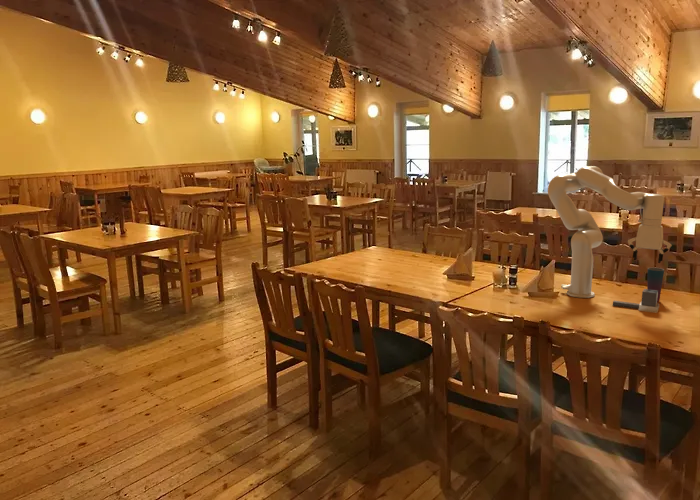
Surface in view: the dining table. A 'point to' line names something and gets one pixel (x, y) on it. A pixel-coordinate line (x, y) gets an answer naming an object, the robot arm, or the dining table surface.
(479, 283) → the dining table surface
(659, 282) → the cup
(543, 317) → the dining table surface
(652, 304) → the socket
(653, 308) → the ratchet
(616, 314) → the dining table surface
